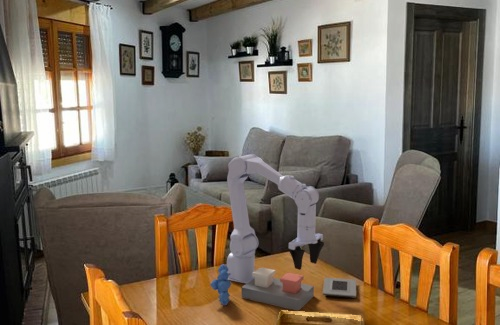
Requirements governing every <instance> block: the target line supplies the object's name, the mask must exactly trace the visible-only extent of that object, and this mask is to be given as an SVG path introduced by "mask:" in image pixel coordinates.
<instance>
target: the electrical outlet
mask: <svg viewBox="0 0 500 325" xmlns="http://www.w3.org/2000/svg"><path fill="white" fill-rule="evenodd" d="M322 287H323V288H322V295H323V296H327V297H329V296H330V297H340V298H341V297H342V298H353V299H355V298H356V297H357V279H349V278H348V279H347V278H335V277H324V279H323V286H322Z"/></svg>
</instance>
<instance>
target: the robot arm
mask: <svg viewBox="0 0 500 325" xmlns="http://www.w3.org/2000/svg"><path fill="white" fill-rule="evenodd" d="M227 167H228V171H227V178H226V181H227V182H226V183H227V188H228V196H229V203H230V210H231V216H232V221H233V222H232V223H233V228H234V229H233V230H232V232H231V234H230V235H229V236H230V241H229V242H230V243H229V250H230V253H229V254H228V256H227V259H226V266H227V267H228V269H229V270H228V272H227V273H228V274H229V276H228V280H229V281H230V282H231V281H232V282H237V283H242V284H244V285H245V284H247V283H248V282H250V281H251V280H253V279H254V278H255V277H253V276H252V273H253V272H254V271H256V269H255V266H256V265H255V262H256V260H255V254H256V250H257V248H258V247H259V239H258V237H257V236H256V231H255V229H254V228H253V227H252V226H251V225H250V218H249V212H248V205H247V197H246V191H245V185H244V182H245V181H246V180H247V179H248V177H249V176H250V175H257V174H258V175H260V176H262V177H264V178H265V179H267V180H269V181H270V182H272V183H274V184H276V185H277V188H278V190H279V191H280V192H282V193H283V194H284V195H286V196H287V197H289V198H291V199H292V200H294V202H295V205H296V206H297V232H296V233H297V237H296V238H295V239H293V240H292V241H290V242H288V246H287V249H288V250H287V251H288V252H289V254H290V256H291V258H292V261H293V265H294V269H297V270H298V271H299V270H302V268H303V266H302V265H303V258H304V254H305V251H306V250H305V249H302V248H301V247H303V246H306V245H307V246H308V249H309V250H308V251H309V262H310V263H312V264H315V265H316V264H317V263H318V259H319V256H320V253H321V251H322V249H323V247H324V246H325V242H323V240H324V234H323V233H320V232H318V233H316V224H317V223H316V221H317V220H316V216H317V214H316V213H317V203H318V202H319V199H320V193H319V191H318V190H317V188H315V187H314V186H311V185H309V186H307V184H306V183H302V182H300V181H299V180H297V179H295V176H294V175H289V174H286V175H282V174H281V173H280V172H278V171H277V170H276V169H274V168H273V167H272V166H270V165H269V164H267V163H266V162H264V160H263V159H262V158H261V157H259V156H257V155H256V154H254V153H250V154H247V155H246V154H245V155H241V156H235V157H234V158H232V159H231V160H230V161H229V163H228V164H227Z"/></svg>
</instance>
